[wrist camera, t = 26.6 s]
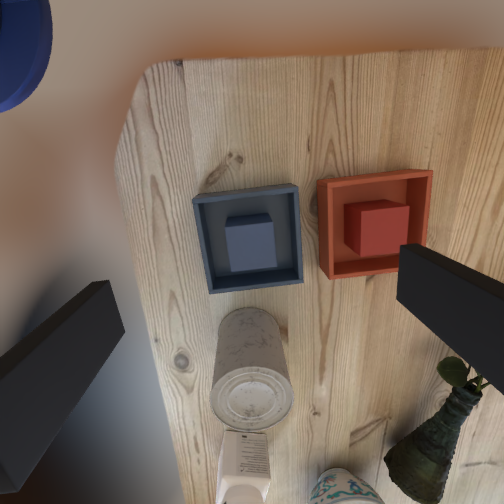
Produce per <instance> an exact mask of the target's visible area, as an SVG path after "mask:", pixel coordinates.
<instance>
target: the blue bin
mask: <svg viewBox="0 0 504 504" xmlns="http://www.w3.org/2000/svg"><path fill="white" fill-rule="evenodd" d="M192 203H193V208H194V214H195V219H196V225H197V230H198V236H199V241H200V247H201V252H202V257H203V263H204V268H205V274H206V279H207V285H208V290H209V294H216V293H225V292H233V291H241V290H250V289H258V288H266V287H274V286H283V285H291V284H299V283H304V280H303V262H302V244H301V226H300V209H299V192H298V186H296V185H294V184H292V183H288V184H280V185H272V186H263V187H255V188H247V189H238V190H230V191H222V192H213V193H205V194H198V195H196V196H195V197H194V198H193V199H192ZM262 213H269V215H270V217H271V219H272V221H273V227H274V238H275V249H276V261H277V267H269V268H261V269H252V270H244V271H236V272H231V267H230V261H229V254H228V247H227V241H226V234H225V224H226V220H227V218H229V217H237V216H245V215H254V214H262Z"/></svg>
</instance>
